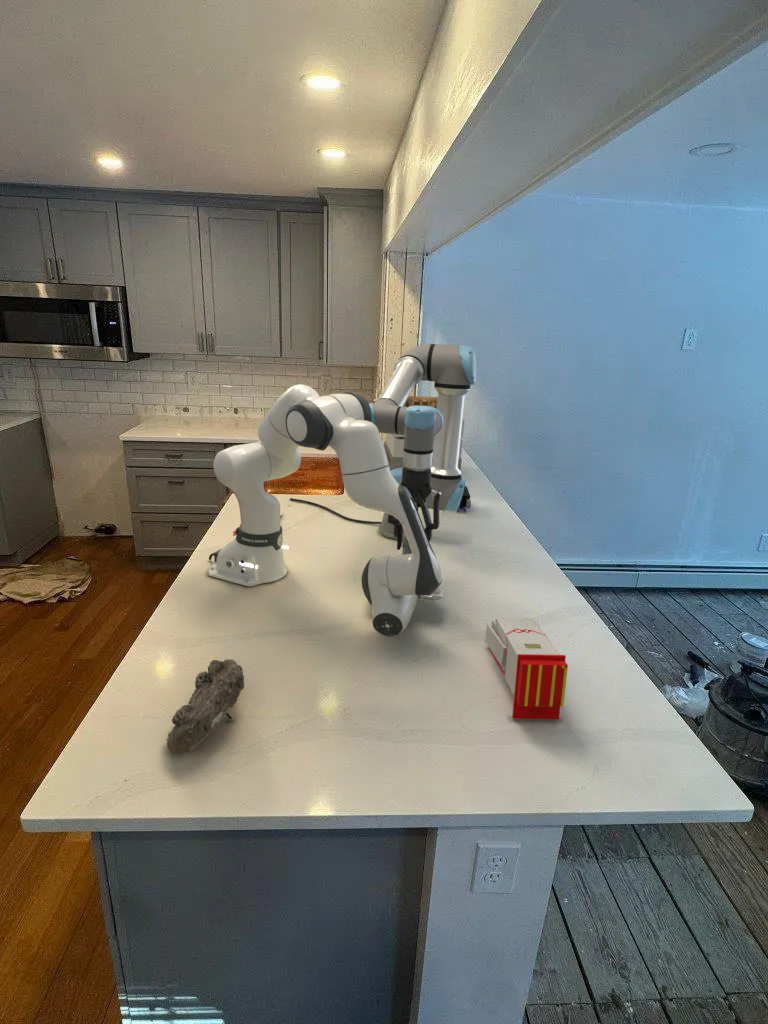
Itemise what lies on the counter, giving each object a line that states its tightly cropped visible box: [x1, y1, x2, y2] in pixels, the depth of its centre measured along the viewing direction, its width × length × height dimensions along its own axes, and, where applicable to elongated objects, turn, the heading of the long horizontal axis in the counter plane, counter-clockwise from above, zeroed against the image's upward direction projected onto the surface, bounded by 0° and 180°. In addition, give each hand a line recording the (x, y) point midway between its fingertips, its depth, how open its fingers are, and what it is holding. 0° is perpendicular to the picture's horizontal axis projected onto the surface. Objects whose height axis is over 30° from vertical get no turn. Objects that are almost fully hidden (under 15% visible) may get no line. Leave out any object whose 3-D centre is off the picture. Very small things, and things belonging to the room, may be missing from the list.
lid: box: [401, 532, 410, 546], centre depth 152 cm, size 6×6×2 cm
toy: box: [484, 617, 569, 720], centre depth 122 cm, size 12×13×30 cm
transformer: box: [383, 395, 465, 472], centre depth 268 cm, size 34×33×41 cm
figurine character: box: [456, 485, 472, 513], centre depth 228 cm, size 7×8×15 cm
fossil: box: [166, 658, 245, 754], centre depth 106 cm, size 22×10×15 cm
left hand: (410, 571), depth 157 cm, fingers closed on jar, 5 cm apart
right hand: (411, 549), depth 153 cm, fingers open, 6 cm apart
